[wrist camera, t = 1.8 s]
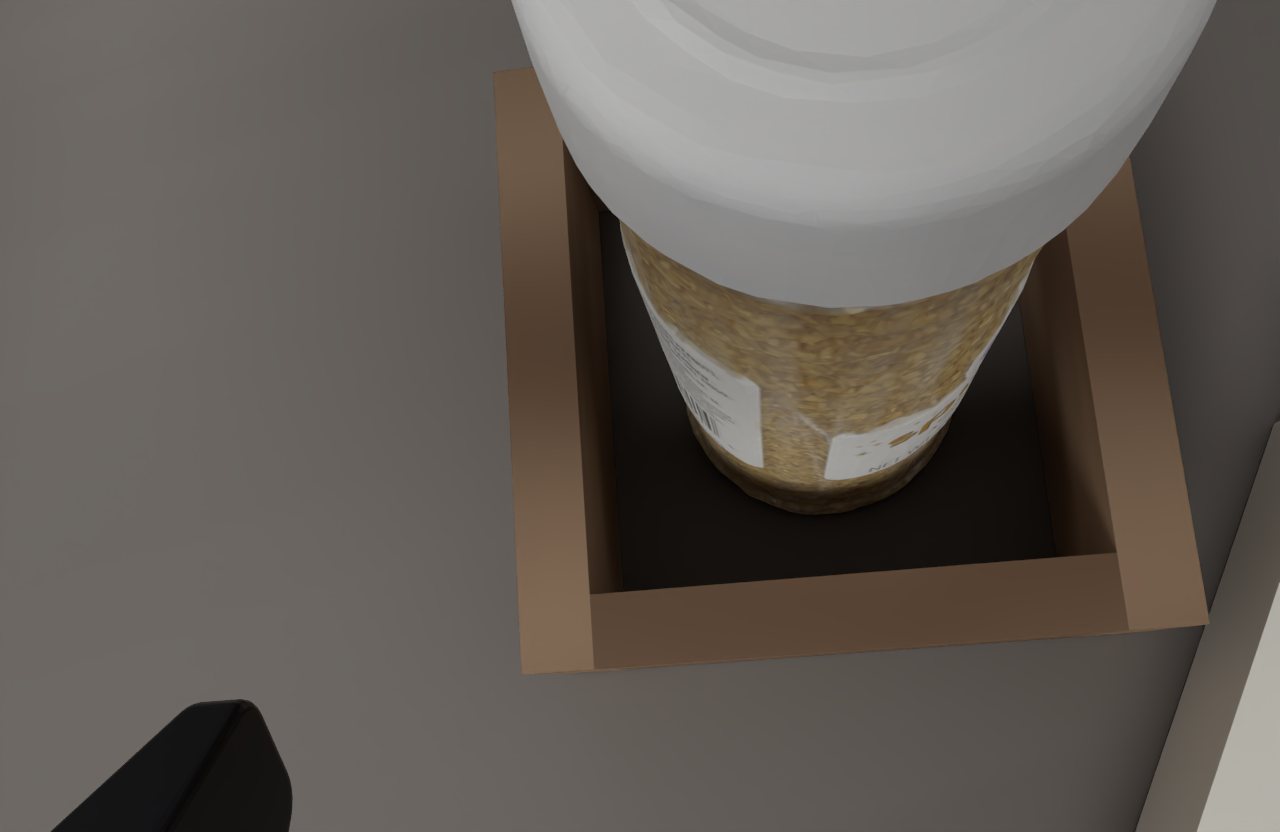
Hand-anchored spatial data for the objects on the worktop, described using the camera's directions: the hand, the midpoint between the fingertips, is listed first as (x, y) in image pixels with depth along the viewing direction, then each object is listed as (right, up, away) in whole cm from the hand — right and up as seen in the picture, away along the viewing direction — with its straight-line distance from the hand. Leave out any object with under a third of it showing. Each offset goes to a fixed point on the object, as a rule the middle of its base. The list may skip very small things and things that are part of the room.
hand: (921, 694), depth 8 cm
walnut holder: (+1, +2, +12) cm, 13 cm away
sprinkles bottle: (+1, +2, +13) cm, 13 cm away
